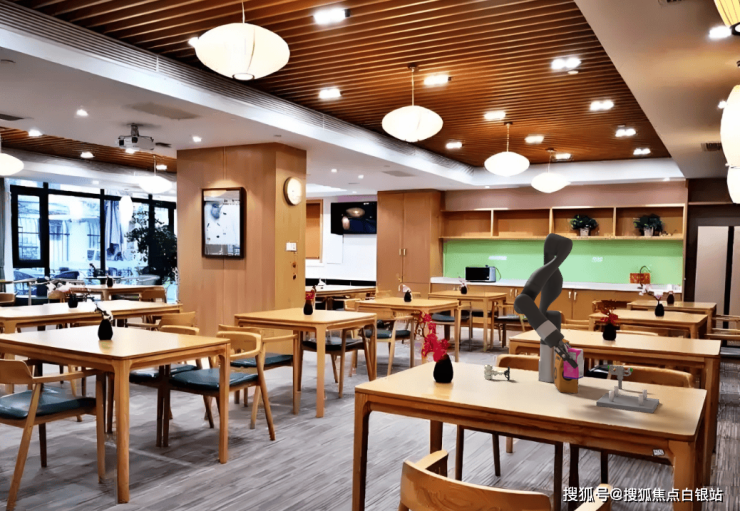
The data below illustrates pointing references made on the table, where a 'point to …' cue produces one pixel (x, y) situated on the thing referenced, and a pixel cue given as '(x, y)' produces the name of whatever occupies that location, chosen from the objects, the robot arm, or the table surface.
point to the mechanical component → (619, 373)
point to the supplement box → (578, 358)
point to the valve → (495, 372)
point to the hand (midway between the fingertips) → (578, 365)
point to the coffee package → (560, 381)
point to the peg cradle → (628, 401)
